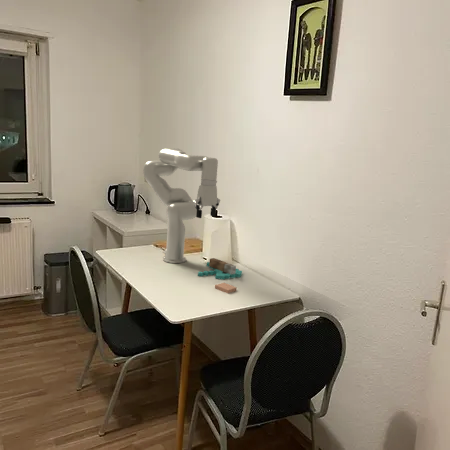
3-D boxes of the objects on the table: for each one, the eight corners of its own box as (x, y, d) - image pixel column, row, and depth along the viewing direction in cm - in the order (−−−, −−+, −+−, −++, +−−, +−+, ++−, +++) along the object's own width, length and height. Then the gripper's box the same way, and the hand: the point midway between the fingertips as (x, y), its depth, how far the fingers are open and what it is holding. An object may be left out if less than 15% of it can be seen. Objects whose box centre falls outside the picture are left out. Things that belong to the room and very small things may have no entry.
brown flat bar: (209, 266, 237) (209, 258, 236) (213, 265, 239) (213, 258, 238) (231, 274, 226) (231, 266, 225) (235, 273, 228) (236, 266, 227)
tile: (215, 285, 209) (227, 290, 204) (224, 282, 214) (236, 287, 208) (214, 289, 210) (227, 294, 204) (223, 286, 214) (236, 291, 209)
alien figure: (197, 276, 225) (237, 282, 222) (198, 272, 225) (237, 278, 221) (207, 266, 244) (243, 271, 241) (207, 262, 244) (244, 267, 240)
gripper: (215, 181, 232) (213, 214, 236) (190, 182, 220) (188, 216, 224) (226, 183, 227) (223, 217, 231) (200, 184, 215) (198, 219, 219)
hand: (206, 216), depth 227 cm, fingers open, 9 cm apart
